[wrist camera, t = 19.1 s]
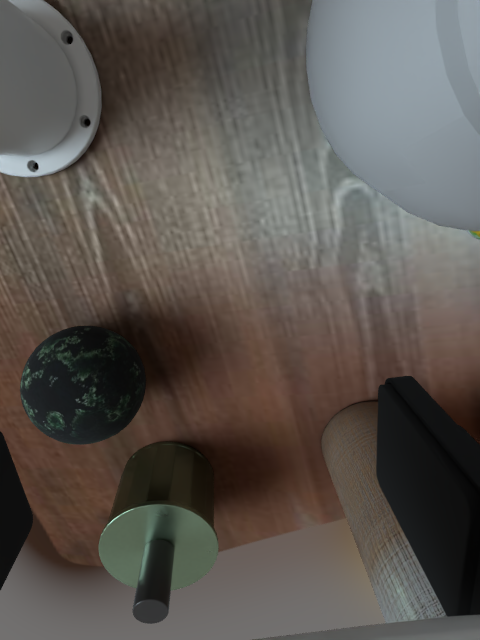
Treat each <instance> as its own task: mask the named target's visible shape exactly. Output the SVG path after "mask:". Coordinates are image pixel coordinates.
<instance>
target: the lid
mask: <svg viewBox="0 0 480 640" xmlns="http://www.w3.org/2000/svg"><path fill="white" fill-rule="evenodd" d="M99 555H100V558H101V561H102V563H103V565H104V567H105V568H106V569H107V571H108V572H109V573H110V574H111V575H112V576H113V577H114V578H116V579H117V580H119V581H120V582H122V583H124V584H126V585H128V586H131V587H134V588H137V589H136V595H135V600H134V605H133V615H134V617H135V618H136V619H137V620H139V621H141V622H143V623H150V624H152V623H157V622H160V621H162V620H163V619H165V618H166V616H167V615H168V610H169V601H170V591H171V590H176V589H180V588H183V587H186V586H188V585H191V584H193V583H195V582H196V581H198V580H199V579H201V578H202V577H203V576H205V575H206V574H207V573H208V572H209V570H210V569H211V568H212V566H213V565H214V563H215V561H216V558H217V555H218V537H217V533H216V531H215V529H214V527H213V525H212V524H211V522H210V521H209V520H208V519H207V518H206V517H205V516H204V515H203V514H201V513H200V512H198V511H197V510H195V509H193V508H191V507H189V506H186V505H184V504H181V503H176V502H171V501H147V502H142V503H138V504H135V505H132V506H129V507H127V508H125V509H123V510H122V511H120V512H119V513H117V514H116V515H114V516H113V517H112V518H111V519H110V520H109V522H108V523H107V524H106V526H105V527H104V529H103V531H102V534H101V537H100V541H99Z"/></svg>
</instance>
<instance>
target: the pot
mask: <svg viewBox="0 0 480 640" xmlns="http://www.w3.org/2000/svg"><path fill="white" fill-rule="evenodd" d="M147 501H171V502H176V503H181V504H184V505H186V506H189V507H191V508H193V509H195V510H197V511H198V512H200V513H201V514H203V515H204V516H205V517H206V518H207V519H208V520H209V521H210V522H211V524H212V525H213V527H214V474H213V470H212V467H211V465H210V463H209V461H208V460H207V458H206V457H205V456H204V455H203V454H202V453H201V452H199V451H198V450H196V449H195V448H193V447H191V446H188V445H186V444H182V443H178V442H158V443H154V444H150V445H148V446H145V447H143V448H142V449H140V450H138V451H137V452H136V453H135V454H134V455H133V456H132V457H131V458H130V459H129V460H128V462H127V464H126V466H125V469H124V471H123V474H122V476H121V480H120V483H119V486H118V490H117V493H116V497H115V500H114V503H113V507H112V510H111V514H110V517H109V520H110V519H111V518H112V517H113V516H114V515H116V514H117V513H119V512H120V511H122V510H123V509H125V508H127V507H129V506H132V505H135V504H138V503H142V502H147ZM109 520H108V522H109Z"/></svg>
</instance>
